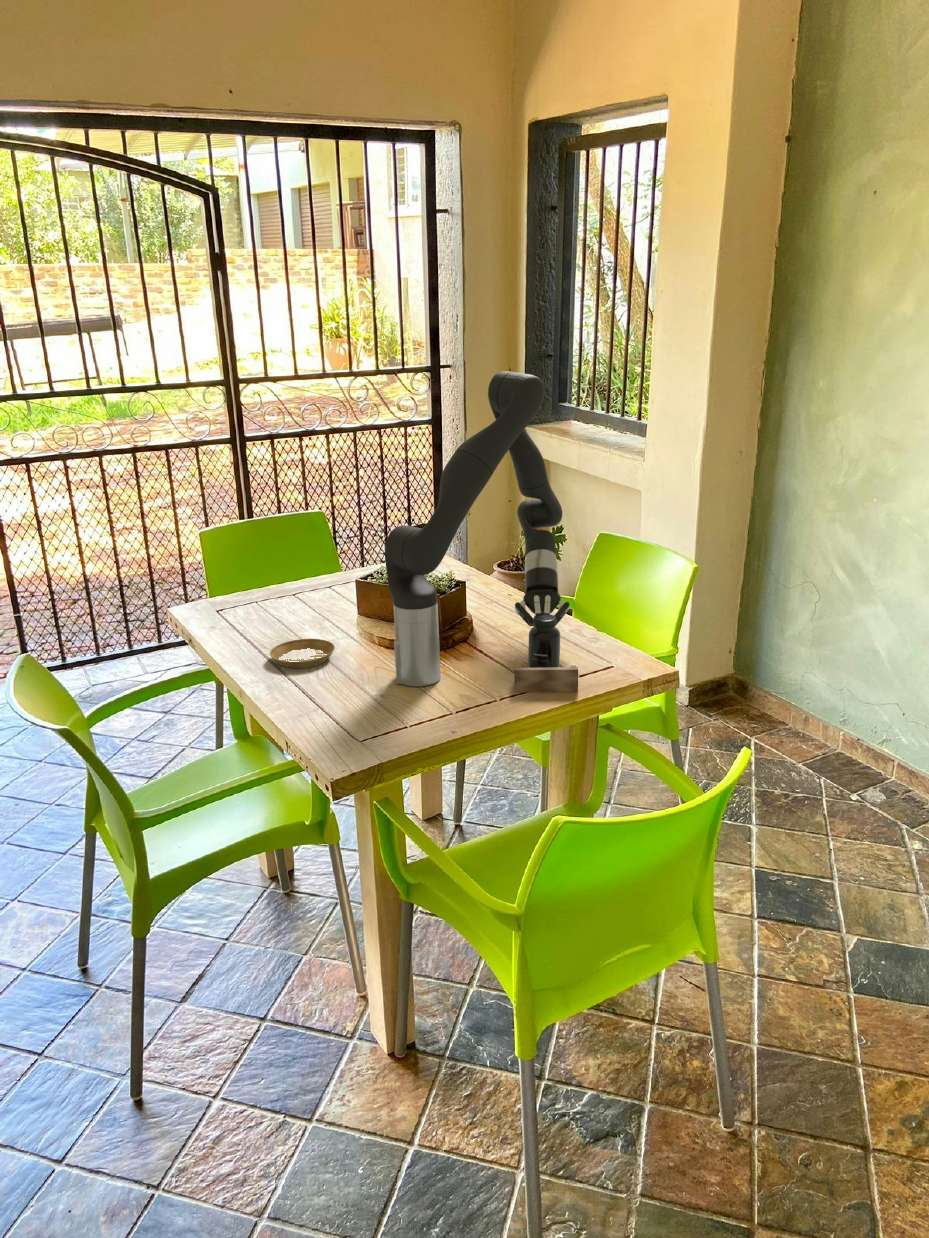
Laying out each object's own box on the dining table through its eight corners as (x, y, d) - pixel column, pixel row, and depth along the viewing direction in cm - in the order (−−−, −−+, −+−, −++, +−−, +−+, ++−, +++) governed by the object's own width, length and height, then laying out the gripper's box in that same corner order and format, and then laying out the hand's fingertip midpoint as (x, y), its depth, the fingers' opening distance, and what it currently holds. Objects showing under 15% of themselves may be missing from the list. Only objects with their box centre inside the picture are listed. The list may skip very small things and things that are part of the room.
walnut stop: (514, 692, 184) (514, 670, 183) (514, 681, 190) (514, 659, 188) (578, 691, 184) (578, 669, 182) (576, 680, 189) (576, 658, 187)
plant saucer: (257, 666, 203) (256, 655, 202) (297, 644, 215) (296, 634, 214) (309, 676, 196) (308, 665, 195) (348, 653, 209) (347, 643, 208)
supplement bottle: (534, 676, 192) (534, 623, 188) (524, 665, 198) (523, 614, 194) (564, 672, 194) (565, 620, 190) (553, 661, 200) (553, 610, 196)
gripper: (512, 566, 204) (513, 635, 196) (570, 565, 203) (573, 634, 195) (512, 581, 210) (513, 649, 203) (569, 580, 210) (571, 648, 202)
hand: (543, 642), depth 199 cm, fingers closed
